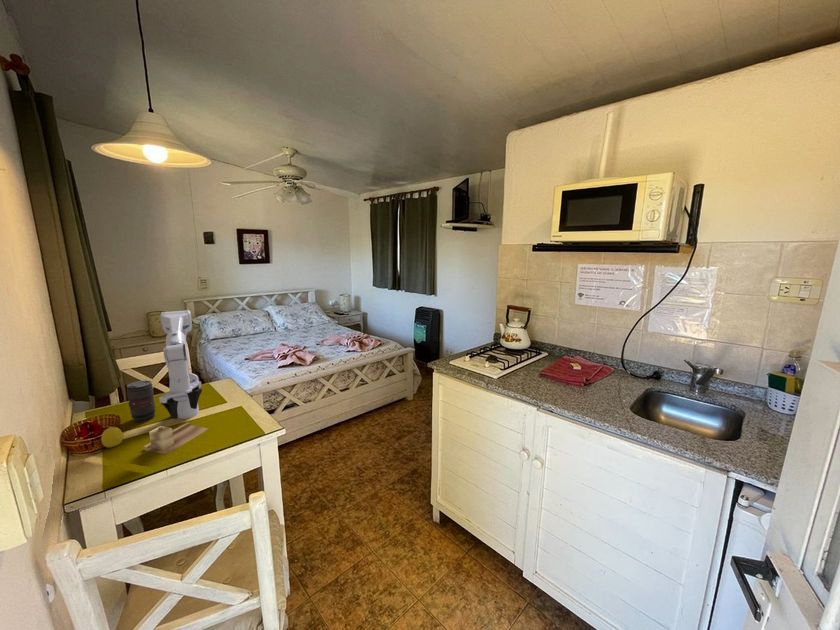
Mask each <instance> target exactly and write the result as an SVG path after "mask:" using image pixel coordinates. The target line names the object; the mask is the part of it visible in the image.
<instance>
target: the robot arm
mask: <svg viewBox="0 0 840 630" xmlns="http://www.w3.org/2000/svg"><path fill="white" fill-rule="evenodd" d="M159 315H160V316H159V317H160V323H161V327H162V330H163V331H164V333H165V334H167V335H166V336H165V347H163V358H164V361H165V366H166V368H167V370H168V371H167V372H168V378H169V389H168V390H169V391H167V392H166V393H164V394H163V395H161V396H159V397H158V398H159V403H160V404H161V405H162V406H163V407H164V408H165V409H166V410H167V412H168V414H169V415H170V418H171V419H174V420H177V419H182V420H183V419H190V418H194V417H196V416H198V415H199V414H200V409H199V398H200V396H201V394H202V392H203V389H202V381H200V379H199V375H197V374H195V373H192V372H190V363H189V355H188V354H189V353H188V348H187V347H188V346H187V344H188V343H187V335H188V333H189V332H191V331H192V329H193V322H192V315H191V310H189V309H186V310H177V311H165V312H164V311H161V313H160V314H159Z"/></svg>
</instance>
